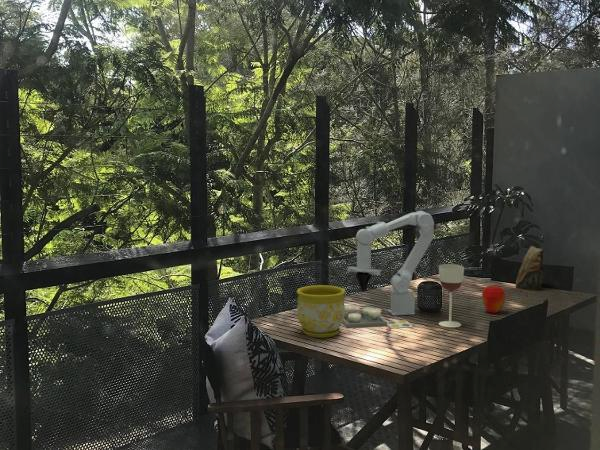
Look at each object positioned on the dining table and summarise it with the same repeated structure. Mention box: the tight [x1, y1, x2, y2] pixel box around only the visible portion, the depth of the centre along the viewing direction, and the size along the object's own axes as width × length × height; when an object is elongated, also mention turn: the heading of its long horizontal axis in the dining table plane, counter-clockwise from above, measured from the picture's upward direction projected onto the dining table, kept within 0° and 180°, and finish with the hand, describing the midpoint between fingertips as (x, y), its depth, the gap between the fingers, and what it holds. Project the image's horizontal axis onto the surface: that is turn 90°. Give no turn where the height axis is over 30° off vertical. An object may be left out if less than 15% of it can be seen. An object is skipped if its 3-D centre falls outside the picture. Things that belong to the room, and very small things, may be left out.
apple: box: [481, 285, 506, 314], centre depth 267 cm, size 9×9×12 cm
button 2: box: [348, 312, 361, 322], centre depth 249 cm, size 5×5×4 cm
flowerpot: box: [296, 284, 346, 339], centre depth 238 cm, size 18×18×16 cm
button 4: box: [368, 308, 382, 319], centre depth 250 cm, size 5×5×4 cm
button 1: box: [344, 304, 357, 314], centre depth 257 cm, size 5×5×4 cm
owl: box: [515, 245, 545, 292], centre depth 311 cm, size 13×13×20 cm
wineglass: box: [438, 263, 465, 328], centre depth 248 cm, size 9×10×23 cm
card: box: [385, 320, 414, 329], centre depth 249 cm, size 9×9×1 cm
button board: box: [342, 311, 388, 329], centre depth 254 cm, size 16×16×2 cm
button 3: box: [362, 306, 376, 315], centre depth 258 cm, size 5×5×4 cm
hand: (363, 290), depth 265 cm, fingers closed
